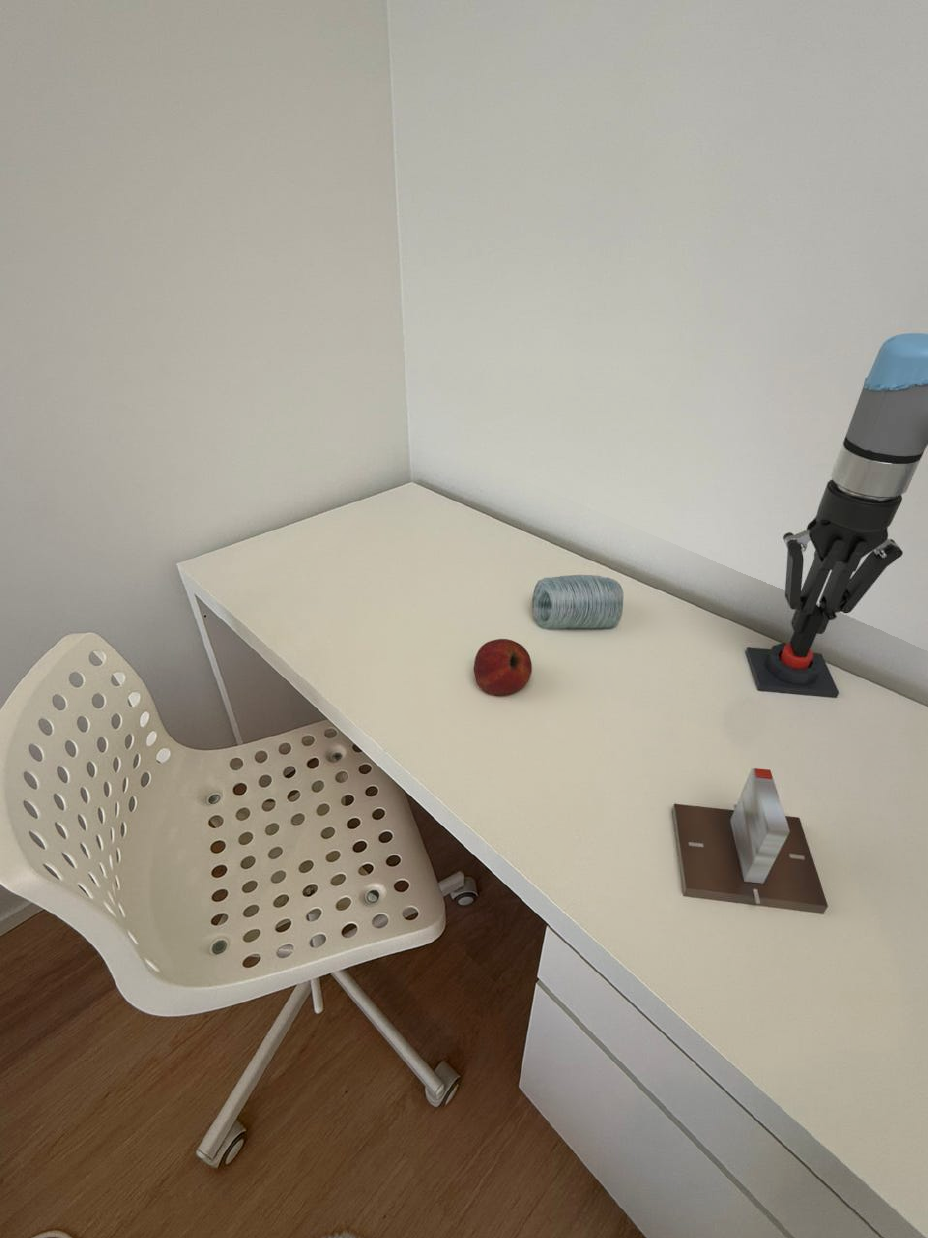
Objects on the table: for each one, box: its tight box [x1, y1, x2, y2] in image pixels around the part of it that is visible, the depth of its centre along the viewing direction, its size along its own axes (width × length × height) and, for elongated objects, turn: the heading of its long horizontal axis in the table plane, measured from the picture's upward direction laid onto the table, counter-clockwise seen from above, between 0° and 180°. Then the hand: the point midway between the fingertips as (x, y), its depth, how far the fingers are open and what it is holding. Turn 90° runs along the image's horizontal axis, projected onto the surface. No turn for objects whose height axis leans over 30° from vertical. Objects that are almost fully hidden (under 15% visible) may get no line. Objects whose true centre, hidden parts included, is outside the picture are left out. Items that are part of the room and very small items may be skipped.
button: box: [780, 642, 814, 669], centre depth 86 cm, size 4×4×2 cm
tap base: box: [671, 803, 829, 915], centre depth 66 cm, size 13×11×3 cm
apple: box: [473, 638, 533, 697], centre depth 86 cm, size 7×8×8 cm
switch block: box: [745, 642, 840, 699], centre depth 88 cm, size 10×8×4 cm
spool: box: [531, 574, 624, 630], centre depth 97 cm, size 14×10×10 cm
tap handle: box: [730, 767, 790, 884], centre depth 63 cm, size 7×2×9 cm, turn 173°
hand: (798, 649), depth 86 cm, fingers closed
